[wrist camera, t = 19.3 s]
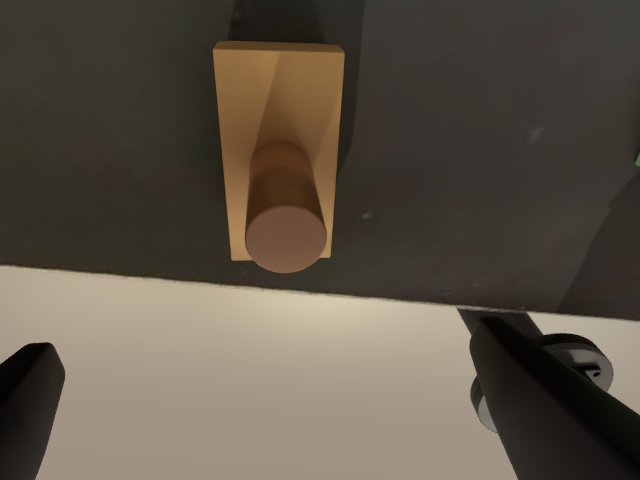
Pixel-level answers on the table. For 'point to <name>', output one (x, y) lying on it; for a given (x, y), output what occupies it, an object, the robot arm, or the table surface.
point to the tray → (638, 160)
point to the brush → (279, 148)
